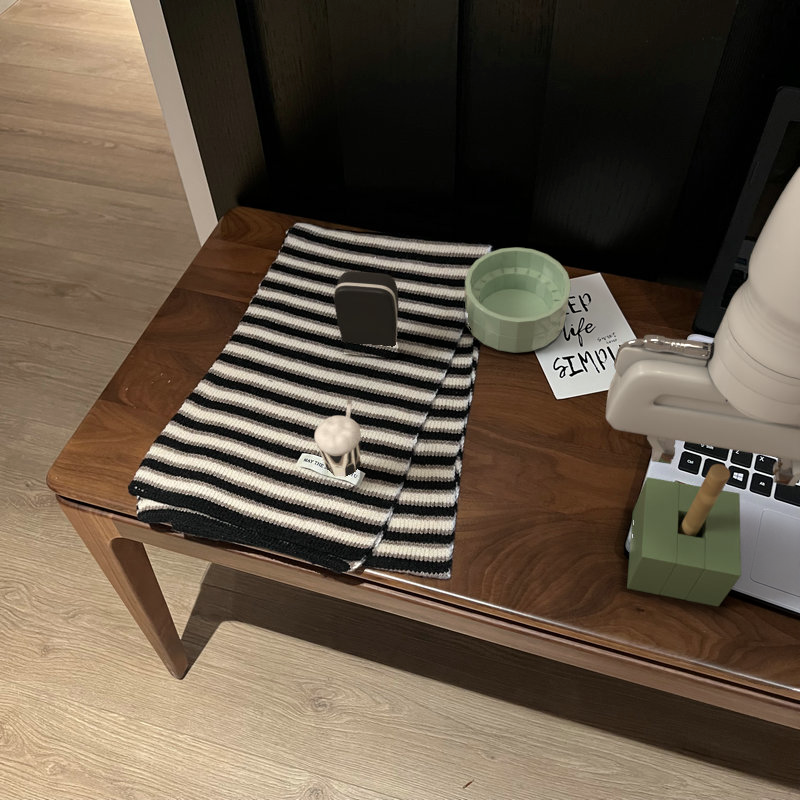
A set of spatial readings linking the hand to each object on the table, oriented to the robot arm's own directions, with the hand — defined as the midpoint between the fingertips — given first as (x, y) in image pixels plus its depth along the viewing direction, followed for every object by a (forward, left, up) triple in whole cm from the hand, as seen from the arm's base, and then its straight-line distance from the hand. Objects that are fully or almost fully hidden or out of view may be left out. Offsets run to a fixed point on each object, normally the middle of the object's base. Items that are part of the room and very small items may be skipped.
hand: (720, 466), depth 63 cm
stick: (0, 0, -9) cm, 9 cm away
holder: (0, 0, -17) cm, 17 cm away
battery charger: (+36, -20, -17) cm, 45 cm away
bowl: (+20, -28, -17) cm, 39 cm away
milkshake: (+34, -2, -17) cm, 38 cm away
